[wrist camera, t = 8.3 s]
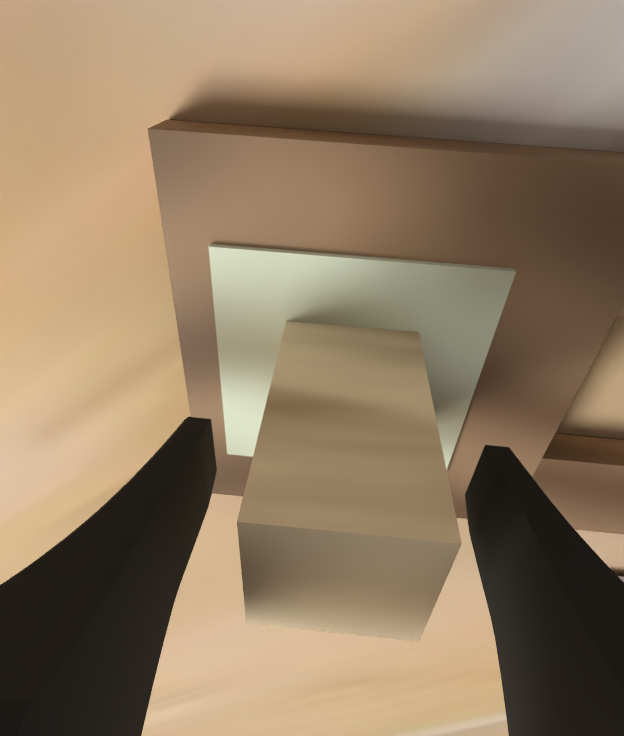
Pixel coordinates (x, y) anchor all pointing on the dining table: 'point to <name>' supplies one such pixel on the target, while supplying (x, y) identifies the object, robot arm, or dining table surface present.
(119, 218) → the dining table surface
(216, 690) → the dining table surface
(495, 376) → the pocket board
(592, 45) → the dining table surface
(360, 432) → the maple block
